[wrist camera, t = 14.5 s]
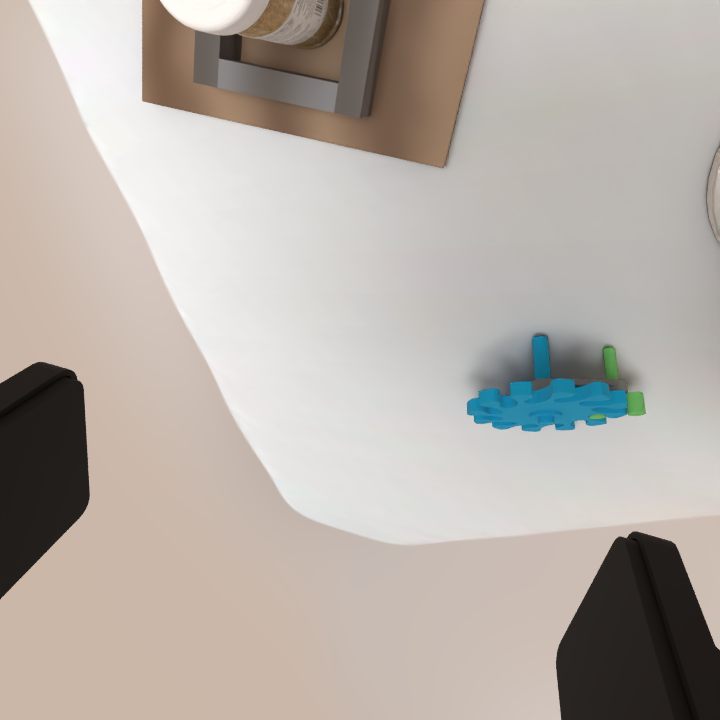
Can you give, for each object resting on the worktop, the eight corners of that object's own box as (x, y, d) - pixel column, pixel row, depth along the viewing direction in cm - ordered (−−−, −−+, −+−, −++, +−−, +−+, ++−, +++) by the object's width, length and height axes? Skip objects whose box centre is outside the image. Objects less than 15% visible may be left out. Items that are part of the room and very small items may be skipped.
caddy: (512, -114, 29) (513, -144, 25) (445, 165, 36) (438, 174, 32) (154, -173, 31) (108, -207, 28) (152, 100, 38) (114, 102, 34)
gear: (461, 437, 42) (477, 401, 32) (459, 362, 44) (474, 307, 34) (615, 441, 41) (678, 404, 32) (606, 363, 43) (663, 307, 34)
